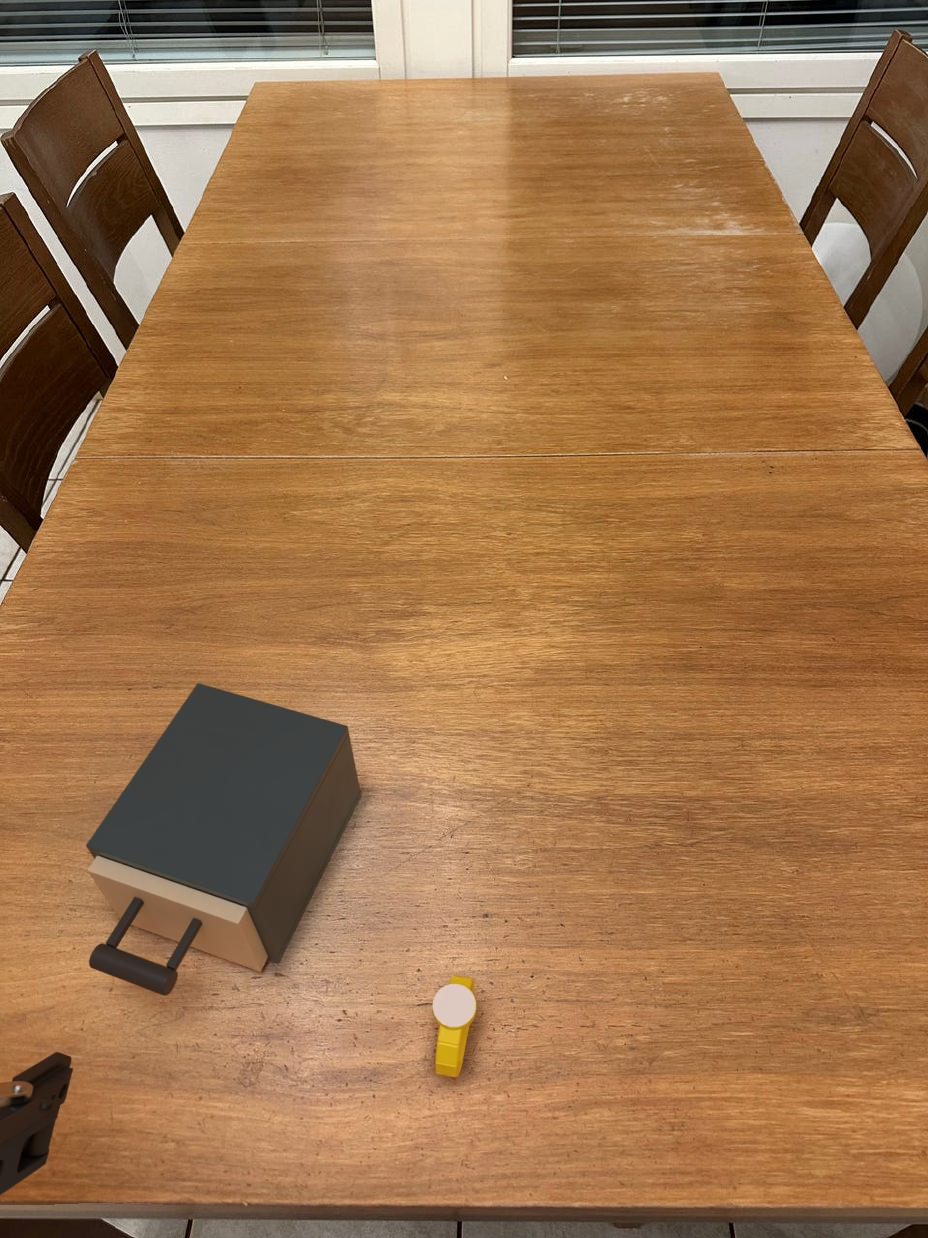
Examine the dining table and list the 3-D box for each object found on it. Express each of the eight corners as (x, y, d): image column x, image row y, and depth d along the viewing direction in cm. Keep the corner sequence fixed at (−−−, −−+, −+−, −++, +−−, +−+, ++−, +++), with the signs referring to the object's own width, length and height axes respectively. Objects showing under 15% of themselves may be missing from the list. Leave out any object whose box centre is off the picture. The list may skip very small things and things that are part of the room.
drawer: (225, 1043, 63) (197, 999, 57) (80, 986, 65) (40, 939, 60) (341, 811, 74) (328, 755, 68) (214, 771, 77) (191, 714, 71)
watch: (468, 1091, 61) (466, 1062, 57) (426, 1083, 62) (421, 1053, 57) (484, 999, 65) (484, 965, 61) (445, 992, 65) (442, 957, 61)
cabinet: (278, 964, 67) (252, 903, 60) (126, 909, 70) (85, 845, 63) (361, 795, 76) (348, 725, 69) (224, 753, 79) (197, 682, 72)
